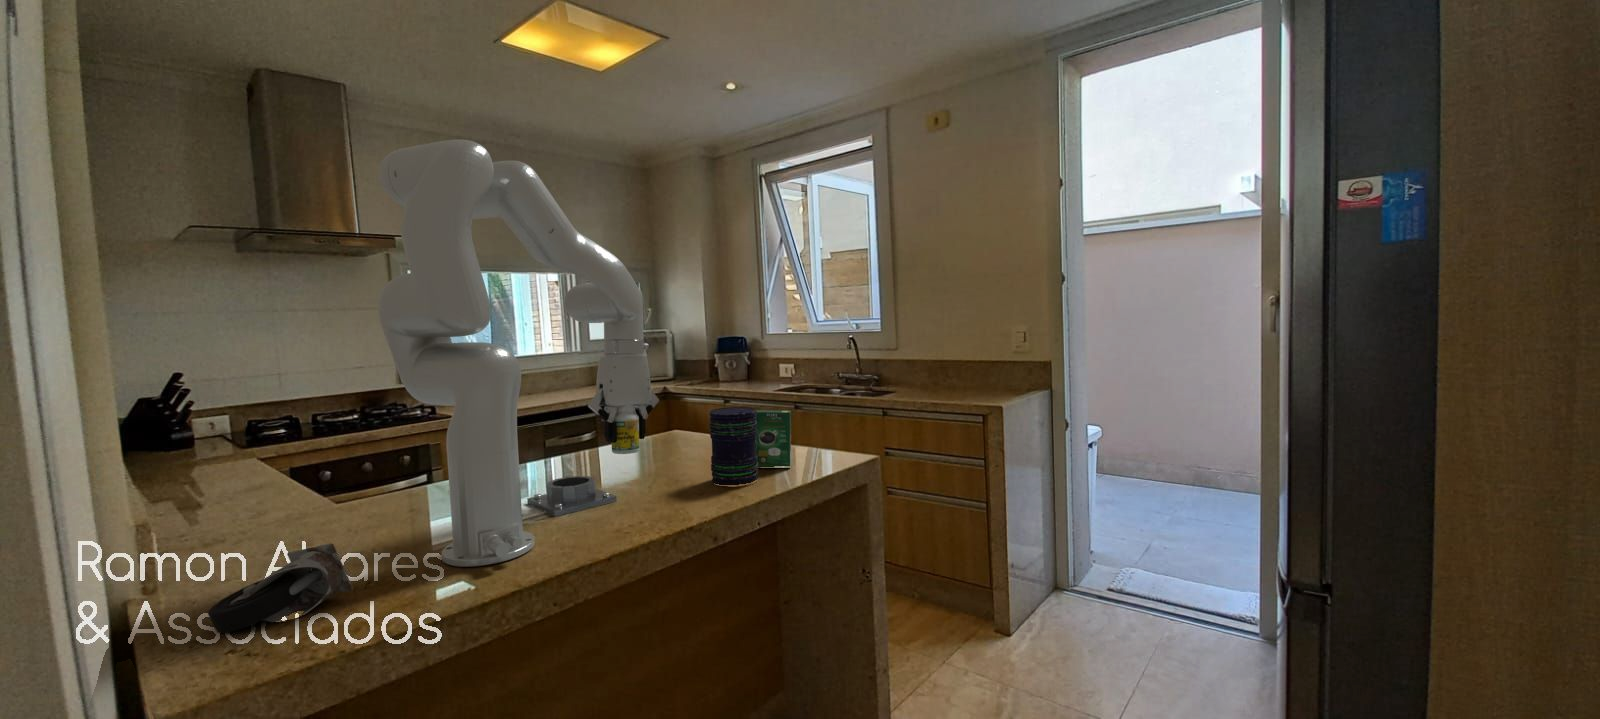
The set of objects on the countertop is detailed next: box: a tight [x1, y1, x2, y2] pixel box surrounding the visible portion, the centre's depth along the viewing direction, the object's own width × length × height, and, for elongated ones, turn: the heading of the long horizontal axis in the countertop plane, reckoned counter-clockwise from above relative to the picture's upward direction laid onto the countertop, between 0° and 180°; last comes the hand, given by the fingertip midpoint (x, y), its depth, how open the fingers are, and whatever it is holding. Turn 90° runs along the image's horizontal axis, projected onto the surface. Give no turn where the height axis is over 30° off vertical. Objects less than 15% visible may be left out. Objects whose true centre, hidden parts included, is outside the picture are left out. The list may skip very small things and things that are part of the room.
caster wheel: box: [207, 542, 354, 634], centre depth 77 cm, size 7×11×10 cm
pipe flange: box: [526, 475, 618, 518], centre depth 121 cm, size 12×12×4 cm
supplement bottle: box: [611, 405, 640, 455], centre depth 127 cm, size 5×5×10 cm
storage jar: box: [709, 406, 759, 485], centre depth 133 cm, size 10×10×15 cm
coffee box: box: [755, 409, 792, 467], centre depth 143 cm, size 8×3×13 cm, turn 85°
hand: (625, 439), depth 127 cm, fingers closed on supplement bottle, 5 cm apart
